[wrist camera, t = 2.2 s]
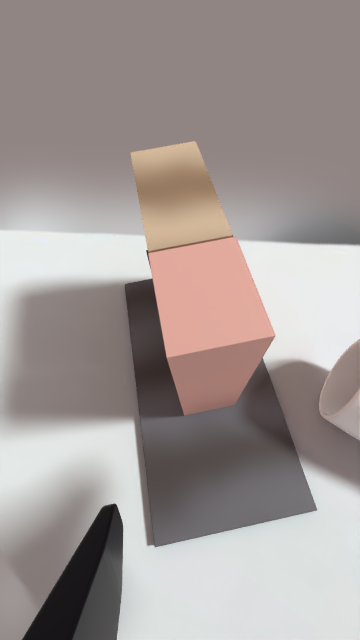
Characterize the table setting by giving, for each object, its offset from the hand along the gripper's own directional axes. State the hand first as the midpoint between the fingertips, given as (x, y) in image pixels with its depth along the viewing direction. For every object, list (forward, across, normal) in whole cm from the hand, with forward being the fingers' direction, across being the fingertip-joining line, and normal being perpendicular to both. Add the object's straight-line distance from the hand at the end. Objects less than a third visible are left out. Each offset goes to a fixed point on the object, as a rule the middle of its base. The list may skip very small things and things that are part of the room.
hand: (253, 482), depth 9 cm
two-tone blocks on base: (+14, 0, +4) cm, 15 cm away
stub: (+14, 0, +4) cm, 14 cm away
